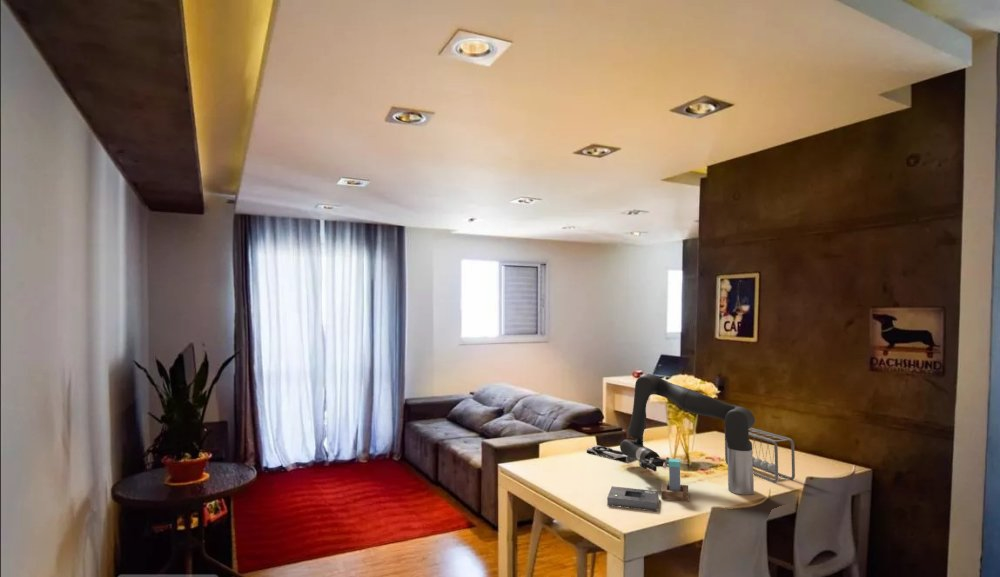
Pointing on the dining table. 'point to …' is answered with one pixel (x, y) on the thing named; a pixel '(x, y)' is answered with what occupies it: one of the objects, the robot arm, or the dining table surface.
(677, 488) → the plug
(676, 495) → the holster
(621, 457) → the graphics card
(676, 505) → the dining table surface
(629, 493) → the port panel
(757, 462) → the newton's cradle
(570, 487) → the dining table surface
